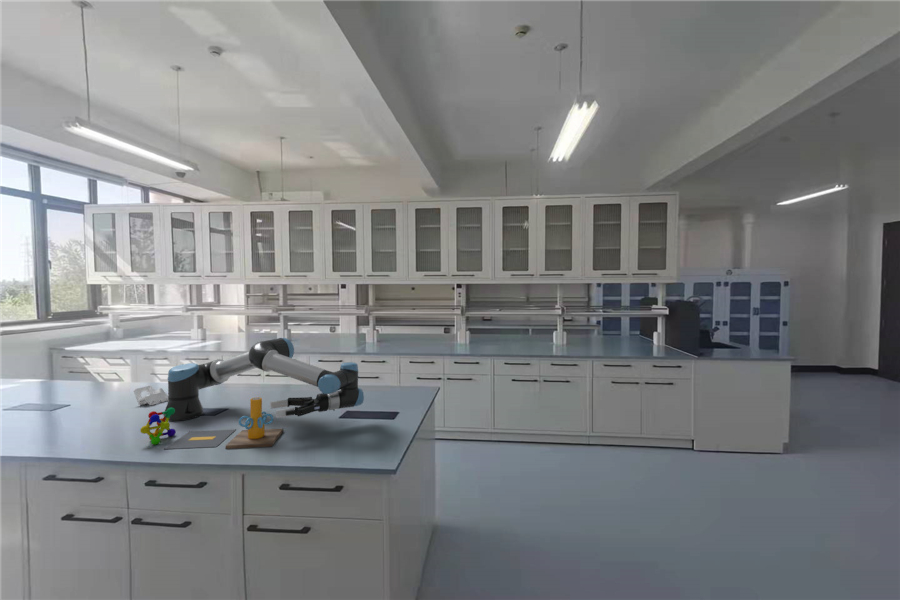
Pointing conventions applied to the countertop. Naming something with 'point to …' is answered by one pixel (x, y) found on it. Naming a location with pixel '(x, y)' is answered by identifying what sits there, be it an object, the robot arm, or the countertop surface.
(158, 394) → the mounting bracket
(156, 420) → the molecular model
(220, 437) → the mat
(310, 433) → the countertop surface
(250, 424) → the cylinder
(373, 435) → the countertop surface
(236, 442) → the board
